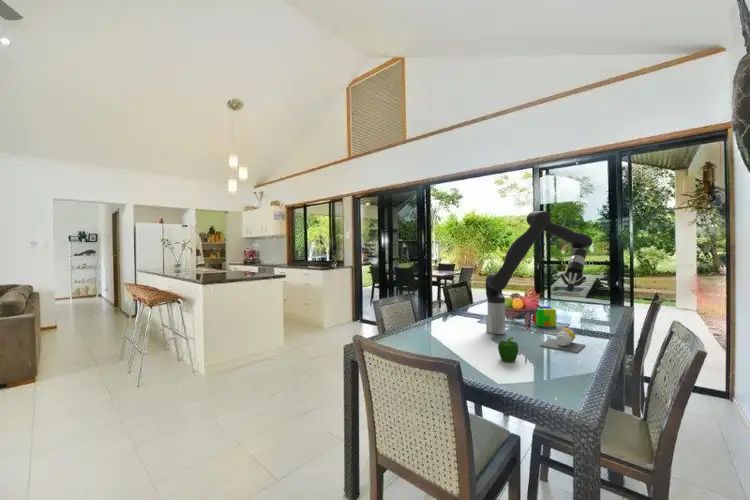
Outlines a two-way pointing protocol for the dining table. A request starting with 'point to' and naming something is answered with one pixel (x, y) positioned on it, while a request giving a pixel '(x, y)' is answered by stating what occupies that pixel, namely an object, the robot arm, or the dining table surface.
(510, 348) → the bell pepper
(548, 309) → the puzzle toy
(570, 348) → the mat
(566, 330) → the supplement bottle
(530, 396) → the dining table surface
